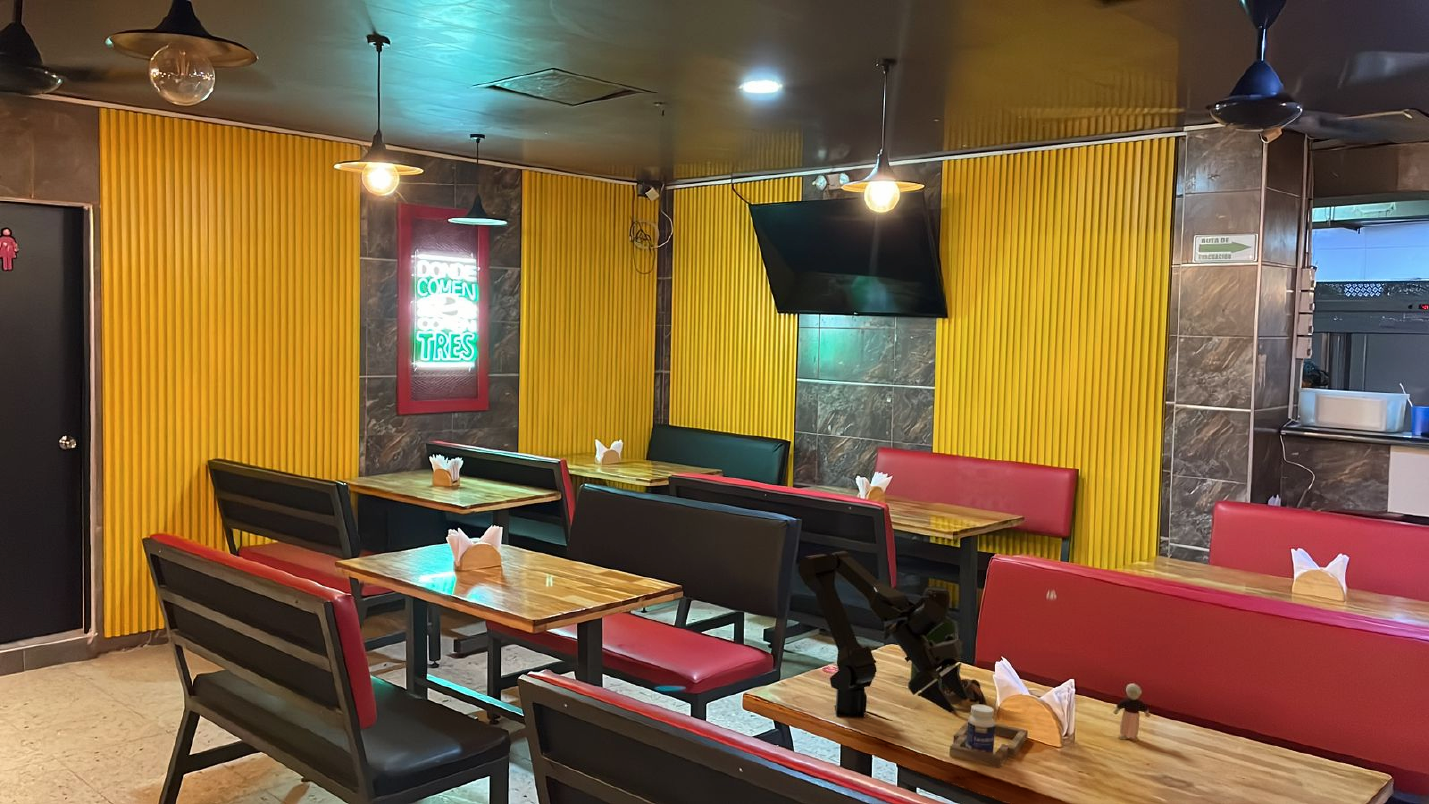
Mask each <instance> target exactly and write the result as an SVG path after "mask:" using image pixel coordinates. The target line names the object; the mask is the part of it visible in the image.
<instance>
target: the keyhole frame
mask: <svg viewBox="0 0 1429 804" xmlns="http://www.w3.org/2000/svg"><path fill="white" fill-rule="evenodd" d="M967 728H968V720H966V721H965V723H964V724H963V725H962V726H961V727H960V728H959V729H958V730H957V731H956V732H955V733H954V734H953V741H952V744H951V745H950V747H949V757H951V756H952V757H953V758H956V759H961V760H963V761H967V762H968V761H969V762H972V763H975V764H976V763H977V764H981V765H985V766H989V767H994V768H998V769H999V768H1000V767H1001V766H1002V765H1003V763H1004V762H1005V761H1006V759H1007V758H1009V759H1010V758H1011V759H1014V758H1015V756H1016V755H1017V754H1018V752H1019V751H1020V750H1021V748H1022V747H1023V746H1024V744H1025V743H1026V742H1027V740H1028V730H1027V729H1023V728H1018V727H1015V726H1014V727H1013V726H1008V725H1006V724H1005V725H1003V724H1000V723H996V722H995V736H1001V737H1006V738H1009V739H1012V740H1011V741H1010V742H1009V744H1004V743H1002V744H1001V745H1000V746H999V748H998V749H997V750H996V751H994V750H993V754H990V753H986V752H981V751H977V750H973V749H969V748H966V740H967ZM1003 761H1004V762H1003ZM1001 764H1002V765H1001Z"/></svg>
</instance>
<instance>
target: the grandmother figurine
mask: <svg viewBox="0 0 1429 804" xmlns="http://www.w3.org/2000/svg"><path fill="white" fill-rule="evenodd" d="M1125 690H1126V694H1127V697H1124V698H1123V699H1121V700H1120V701H1119V702H1118V703H1117V704H1116V707H1115V708H1114V710H1113V712H1112V713H1113V714H1114V715H1118V714H1119V712H1120V711H1121V710H1122V709H1123V712H1122V716H1121V720H1120V721H1121V722H1120V727H1119V734H1118V735H1117V739H1120V740H1127V739H1129V740H1130V741H1133V742H1139V741H1138V740H1139V737H1138V735H1139V729H1140V728H1139V727H1140V711H1141V712H1143V714H1144V716H1145V718H1150V717H1151V714H1150V711H1149V707H1148V705H1147V704H1146V703H1144V702H1143V701H1142V700H1140V699H1138V698H1139V697H1140V696H1141V695H1142V693H1143V692H1142V691H1143V690H1142V689H1141V687H1140V686H1139V685H1138V684H1136V683H1129V684H1127V686H1126V688H1125Z"/></svg>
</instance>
